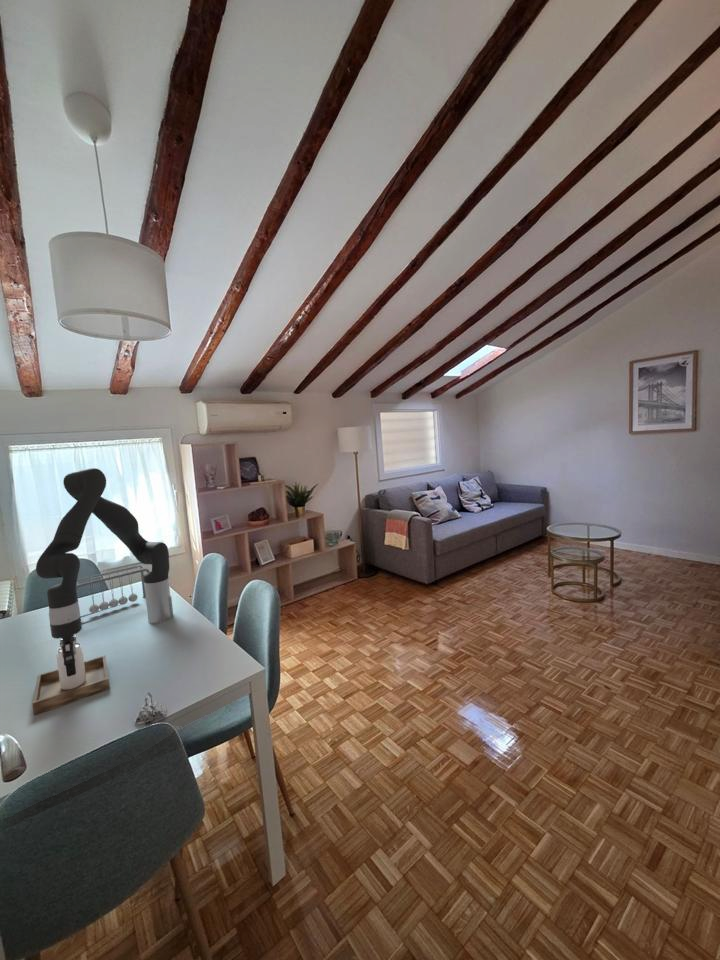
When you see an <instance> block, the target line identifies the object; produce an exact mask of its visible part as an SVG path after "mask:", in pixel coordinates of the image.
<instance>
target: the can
mask: <svg viewBox="0 0 720 960" xmlns="http://www.w3.org/2000/svg"><path fill="white" fill-rule="evenodd" d="M73 651H74V649H73ZM83 652H84V651H83V647H82V646H81V643H79V642H76V654H75V668H76V674H75V675H72V676H69V677H68V676H67V672H66V665H64V658H63V657H62V650H61V648H60V647H59V648H57V654H56V663H57V669H58V672H59V679H60V686H61V689H63V690H71V689H74V688H77V687H79V686H81V685H82V684H83V683H84V682H85V681H86V673H85V665H84V661H85V660H84V653H83ZM70 659H72V656H69V657H67V660H70Z"/></svg>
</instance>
